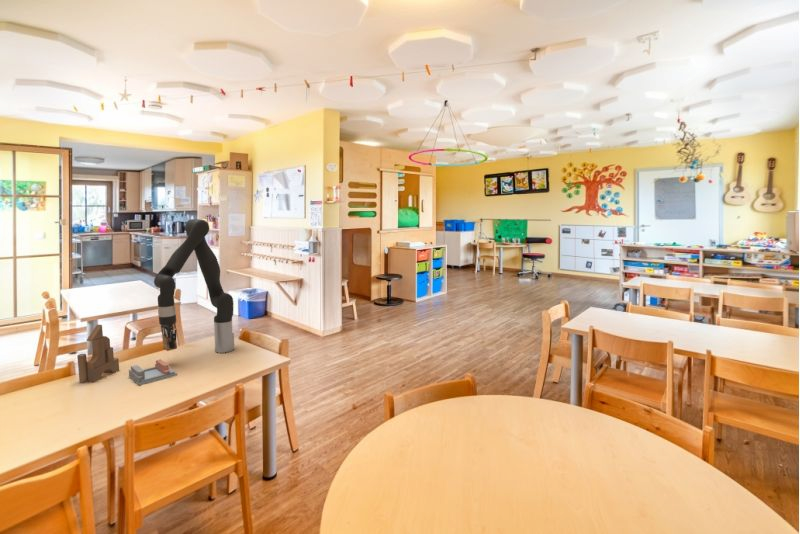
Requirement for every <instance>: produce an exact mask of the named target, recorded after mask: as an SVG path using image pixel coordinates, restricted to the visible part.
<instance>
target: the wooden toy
mask: <svg viewBox="0 0 800 534" xmlns="http://www.w3.org/2000/svg"><path fill="white" fill-rule="evenodd" d="M103 333H104V332H103V325H102V324H96V325H95V327H94V328H93V329H92V331H91V333H90V334H89V336H88V337H87V338H86V341H87V342H91V346H92V347H91V348H92V349H91V350H92V356H91V358H90V359H89V360H88V359H87V358H88V357H87V354H86V353H79V354H78V355H77V368H78V369H77V370H78V380H79V383H80V384H84V383H87V382H89V383H95V382H98V381H100V380H102V375H103V374H115V373H117V372H120V362H119V361H120V360H119V357H114V356H115V355H114V347H113V346H111V341H110V338H109V337H108V336H107V335H104V334H103Z"/></svg>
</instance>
